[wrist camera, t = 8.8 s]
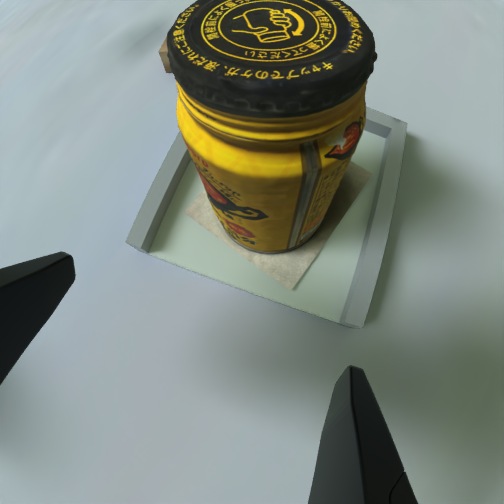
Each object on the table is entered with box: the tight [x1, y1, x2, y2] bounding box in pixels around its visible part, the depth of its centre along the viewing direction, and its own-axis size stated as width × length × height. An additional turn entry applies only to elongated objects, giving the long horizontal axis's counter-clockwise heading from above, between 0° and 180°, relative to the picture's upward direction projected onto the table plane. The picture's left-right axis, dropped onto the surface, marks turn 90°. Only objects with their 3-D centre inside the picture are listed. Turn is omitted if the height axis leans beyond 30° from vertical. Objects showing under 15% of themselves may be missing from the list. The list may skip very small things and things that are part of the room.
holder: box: [126, 107, 407, 328], centre depth 18 cm, size 13×13×2 cm
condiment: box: [167, 0, 377, 291], centre depth 12 cm, size 7×8×12 cm
